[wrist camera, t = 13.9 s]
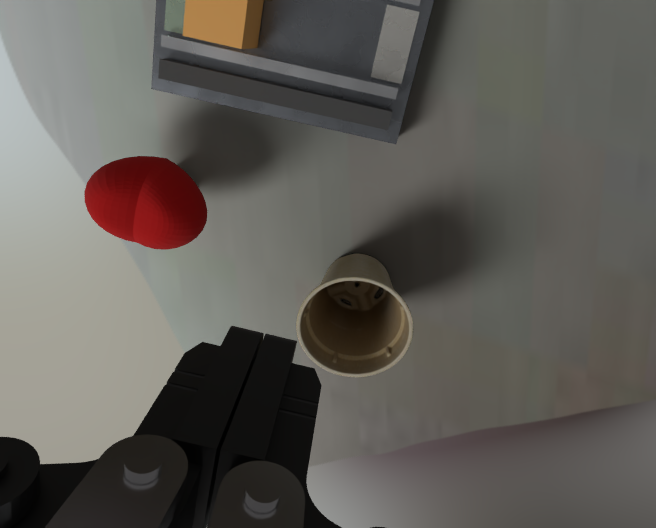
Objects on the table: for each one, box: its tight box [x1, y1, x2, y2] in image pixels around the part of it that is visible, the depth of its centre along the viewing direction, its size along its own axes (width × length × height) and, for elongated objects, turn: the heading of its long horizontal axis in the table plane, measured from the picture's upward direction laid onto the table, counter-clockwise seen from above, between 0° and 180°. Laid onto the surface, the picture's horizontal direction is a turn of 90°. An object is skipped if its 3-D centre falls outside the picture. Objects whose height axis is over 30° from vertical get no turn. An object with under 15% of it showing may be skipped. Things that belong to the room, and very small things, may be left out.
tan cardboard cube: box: [183, 0, 264, 49], centre depth 35 cm, size 4×5×5 cm
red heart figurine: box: [85, 156, 207, 249], centre depth 41 cm, size 9×7×10 cm
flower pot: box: [296, 253, 413, 377], centre depth 44 cm, size 9×9×9 cm
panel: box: [151, 0, 434, 144], centre depth 38 cm, size 20×14×4 cm
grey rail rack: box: [158, 58, 392, 130], centre depth 37 cm, size 18×12×1 cm, turn 78°
